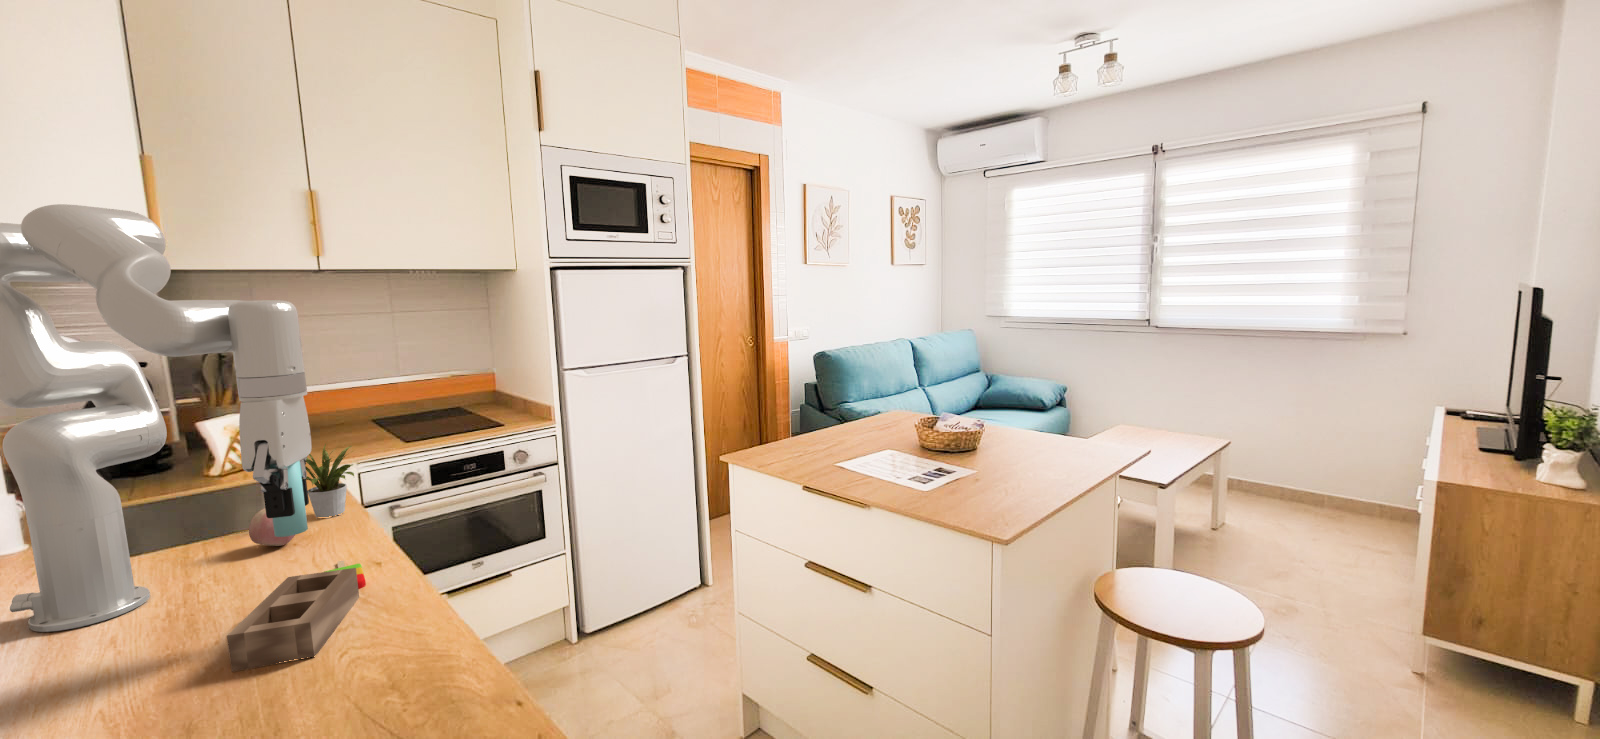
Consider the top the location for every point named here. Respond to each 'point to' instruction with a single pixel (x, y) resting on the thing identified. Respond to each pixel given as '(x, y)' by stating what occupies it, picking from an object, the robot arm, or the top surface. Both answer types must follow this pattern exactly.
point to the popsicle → (358, 570)
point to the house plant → (328, 485)
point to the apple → (265, 531)
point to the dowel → (298, 520)
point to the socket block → (293, 619)
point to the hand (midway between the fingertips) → (288, 510)
